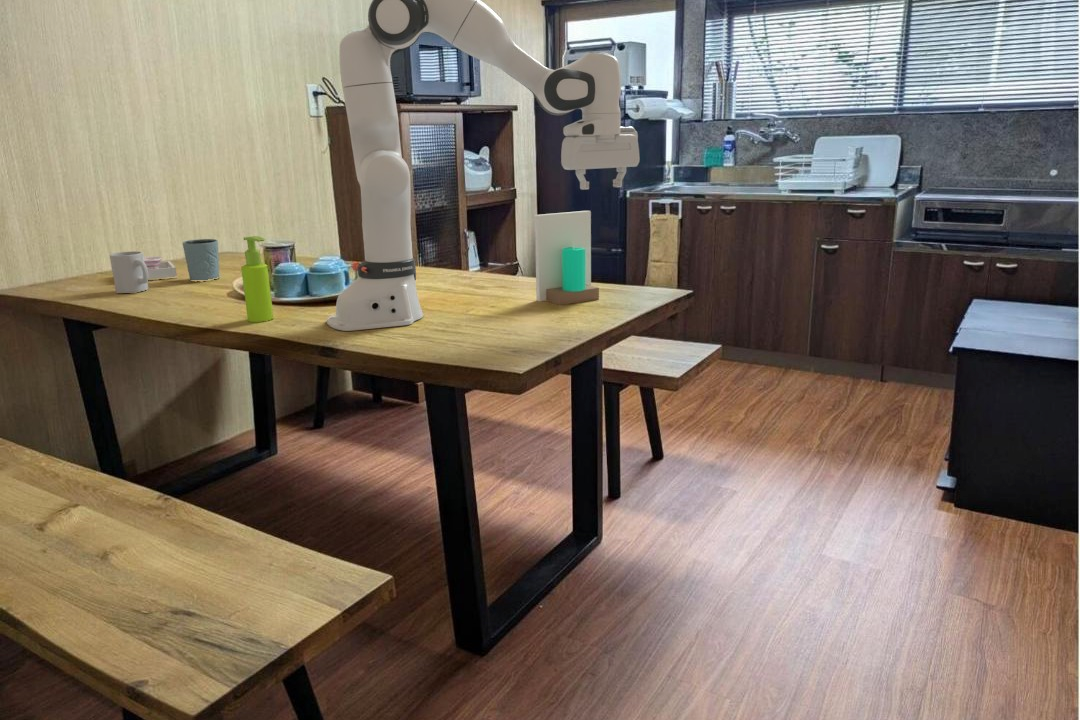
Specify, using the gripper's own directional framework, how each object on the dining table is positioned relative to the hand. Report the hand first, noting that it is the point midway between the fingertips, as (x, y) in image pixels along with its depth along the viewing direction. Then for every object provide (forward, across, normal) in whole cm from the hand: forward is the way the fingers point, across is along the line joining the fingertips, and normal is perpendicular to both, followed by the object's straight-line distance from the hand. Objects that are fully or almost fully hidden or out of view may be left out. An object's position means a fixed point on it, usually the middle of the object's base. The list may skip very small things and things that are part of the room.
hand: (601, 188), depth 185 cm
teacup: (+30, +90, -120) cm, 153 cm away
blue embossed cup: (+30, +76, -105) cm, 133 cm away
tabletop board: (+29, 0, -14) cm, 32 cm away
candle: (+26, 0, -12) cm, 29 cm away
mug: (+30, +96, -97) cm, 140 cm away
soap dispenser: (+29, +73, -38) cm, 87 cm away
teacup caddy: (+29, +91, -121) cm, 154 cm away
